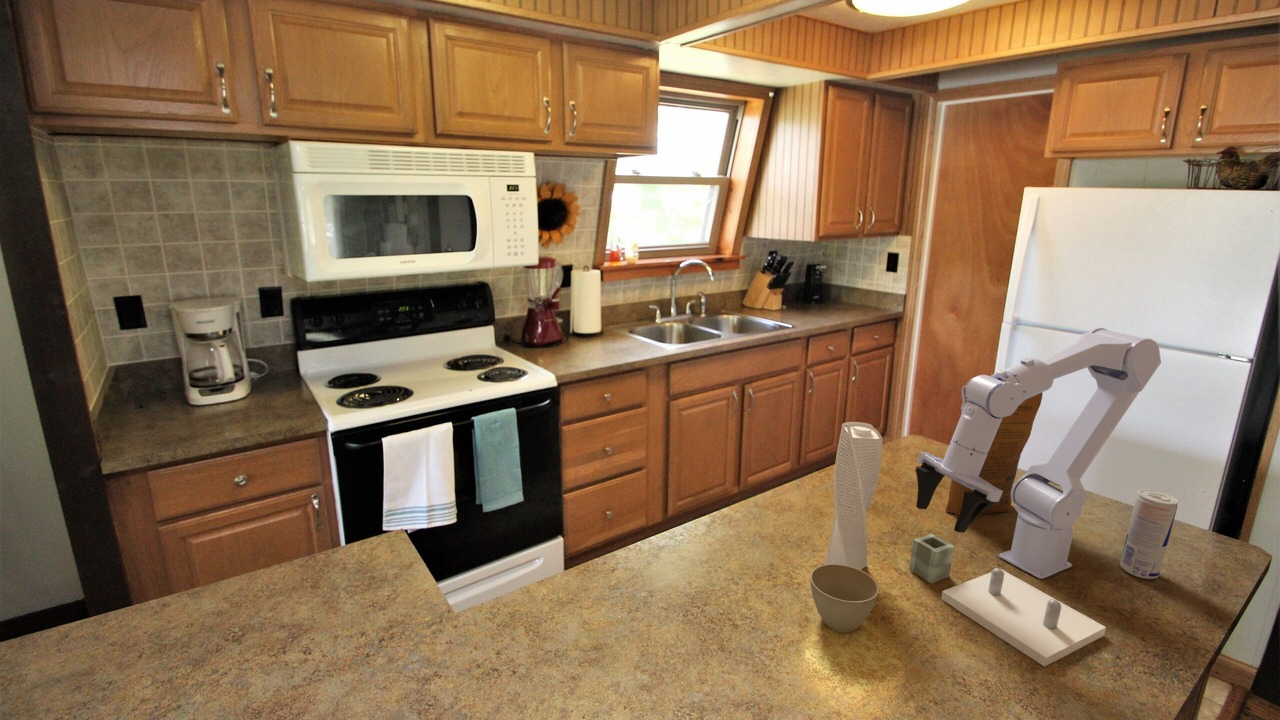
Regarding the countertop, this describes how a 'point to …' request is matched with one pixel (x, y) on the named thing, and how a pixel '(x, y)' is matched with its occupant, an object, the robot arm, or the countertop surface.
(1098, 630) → the jig board
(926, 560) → the square socket block
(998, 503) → the pancake mix bag
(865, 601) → the flower pot
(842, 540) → the skyscraper
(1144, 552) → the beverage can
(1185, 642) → the countertop surface
